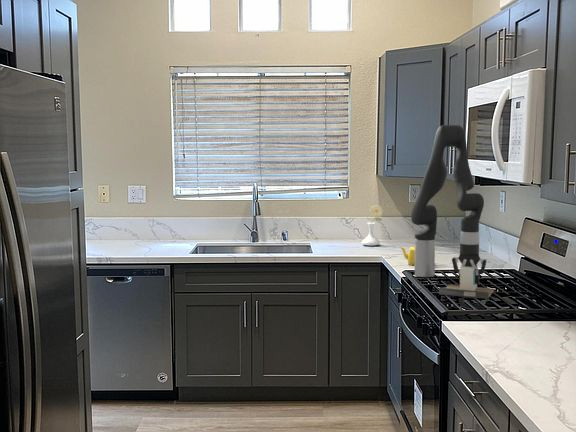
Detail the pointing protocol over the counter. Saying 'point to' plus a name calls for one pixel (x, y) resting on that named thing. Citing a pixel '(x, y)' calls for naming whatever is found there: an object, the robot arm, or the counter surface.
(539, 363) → the counter surface
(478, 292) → the shelf plank
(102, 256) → the counter surface
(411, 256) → the teapot
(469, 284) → the carton
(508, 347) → the counter surface
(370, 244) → the flower in vase
